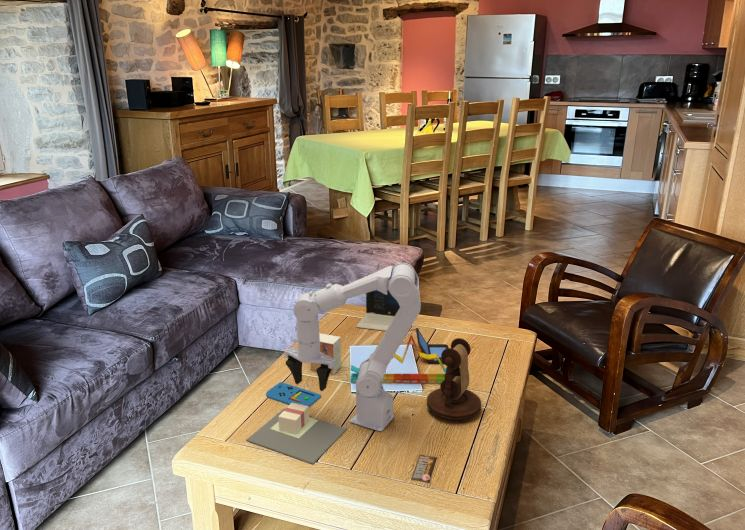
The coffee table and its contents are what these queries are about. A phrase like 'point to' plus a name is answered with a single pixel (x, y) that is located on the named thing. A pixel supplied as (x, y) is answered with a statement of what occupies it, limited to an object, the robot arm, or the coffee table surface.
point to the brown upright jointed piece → (455, 386)
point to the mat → (298, 438)
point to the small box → (330, 350)
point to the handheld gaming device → (292, 394)
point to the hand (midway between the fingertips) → (310, 385)
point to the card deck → (293, 418)
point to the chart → (408, 377)
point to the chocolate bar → (424, 469)
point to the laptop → (379, 311)
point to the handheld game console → (430, 348)
